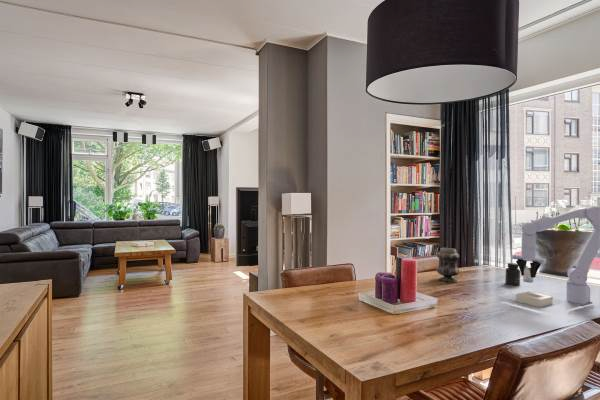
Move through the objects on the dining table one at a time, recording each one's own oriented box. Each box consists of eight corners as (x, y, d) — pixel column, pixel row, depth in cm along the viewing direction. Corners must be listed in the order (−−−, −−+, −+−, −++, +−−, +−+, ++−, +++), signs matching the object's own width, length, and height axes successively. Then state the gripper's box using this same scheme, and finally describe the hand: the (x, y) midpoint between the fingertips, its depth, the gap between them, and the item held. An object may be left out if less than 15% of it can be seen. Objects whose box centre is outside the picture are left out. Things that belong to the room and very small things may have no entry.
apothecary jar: (460, 279, 206) (461, 248, 206) (457, 284, 196) (457, 250, 196) (438, 277, 213) (438, 246, 212) (434, 281, 202) (434, 249, 202)
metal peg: (526, 280, 174) (526, 265, 174) (535, 282, 170) (535, 267, 170) (521, 281, 172) (521, 266, 172) (530, 282, 168) (530, 267, 168)
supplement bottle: (519, 288, 188) (519, 265, 187) (504, 286, 192) (504, 263, 192) (520, 285, 193) (521, 263, 193) (506, 283, 197) (506, 262, 197)
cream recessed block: (524, 294, 176) (524, 285, 176) (565, 303, 161) (565, 294, 161) (499, 299, 167) (499, 290, 167) (541, 310, 151) (541, 300, 151)
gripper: (508, 246, 175) (508, 274, 175) (540, 250, 163) (540, 280, 163) (516, 245, 179) (516, 272, 179) (548, 249, 166) (548, 278, 166)
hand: (528, 276), depth 171 cm, fingers closed on metal peg, 4 cm apart
